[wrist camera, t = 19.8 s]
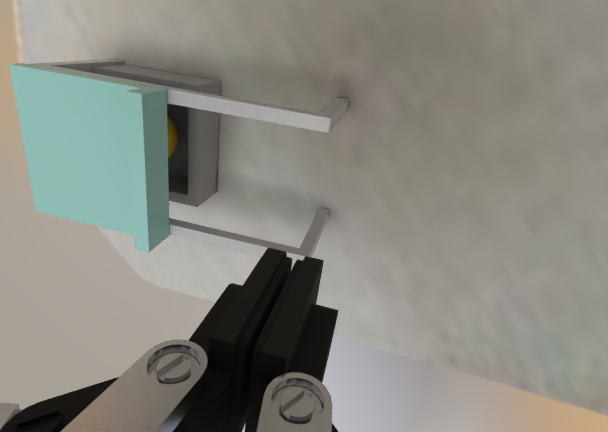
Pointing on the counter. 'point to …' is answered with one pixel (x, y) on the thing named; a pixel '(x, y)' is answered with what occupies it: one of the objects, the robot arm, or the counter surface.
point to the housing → (210, 144)
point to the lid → (96, 150)
